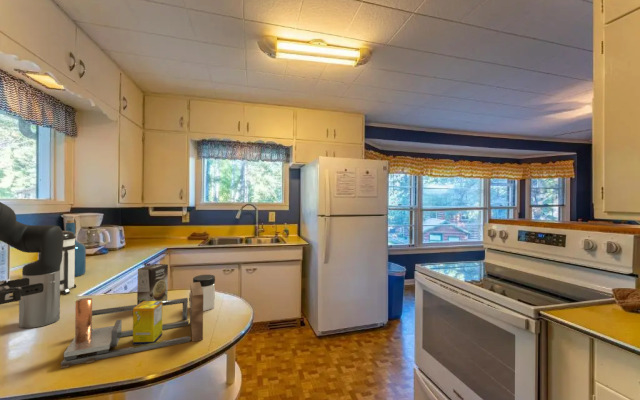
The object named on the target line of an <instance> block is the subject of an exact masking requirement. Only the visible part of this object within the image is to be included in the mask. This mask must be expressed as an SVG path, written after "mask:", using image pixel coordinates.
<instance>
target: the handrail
mask: <svg viewBox="0 0 640 400" xmlns="http://www.w3.org/2000/svg"><path fill="white" fill-rule="evenodd" d="M188 302H189V297H184V298H175V299H167V301H162V307H164V306H171V305H172V306H173V305H179V304H182V318H181V319H182V321H188V309H189V308H188V307H189V306H188ZM138 305H139V304H137V303H136V304H132V305H124V306H116V307H109V308H102V309H92V317H93V316H100V315H101V316H102V315H108V314H116V313H124V312H130V311H133V308H135V307H136V306H138Z"/></svg>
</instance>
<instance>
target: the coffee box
mask: <svg viewBox="0 0 640 400" xmlns="http://www.w3.org/2000/svg"><path fill="white" fill-rule="evenodd" d="M168 269H169V264H165V263H153V264H149V265H146V266H143V267H139V268H137V291H136V292H137V294H136V297H137V298H136V305H137V304H141V303H142V302H143V301H167V300H168V293H169V291H168V283H169V282H168V281H169V279H168V278H169V272H168V271H169V270H168Z"/></svg>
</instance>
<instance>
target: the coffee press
mask: <svg viewBox="0 0 640 400" xmlns="http://www.w3.org/2000/svg"><path fill="white" fill-rule="evenodd" d="M57 226H58V227H60V228H61V226H60V225H57ZM62 232H63V238H64V239H63V252H62V262H61V265H60V293H61V292H62V293H63V295H64V296H66V295H69V294H70V291H71V290H70V289H76V287H77V285H76V283H75V279H76V277H75V239H76V238H77V236H76V234H75V235H74V233H73V232H70V231H66V230H62ZM40 256H41V253H37V261H38V260H39V259H40Z"/></svg>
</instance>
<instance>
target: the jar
mask: <svg viewBox="0 0 640 400" xmlns="http://www.w3.org/2000/svg"><path fill="white" fill-rule="evenodd" d="M194 282H200V284H201V288H202V291H203V312H206V311H209V310H213V309H214V308H215V299H216V297H215V296H216V295H215V294H216V290H215V285H216V284H215V283H216V276H215V275H214V274H200V275H196V276H193V278H192V283H194Z"/></svg>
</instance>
